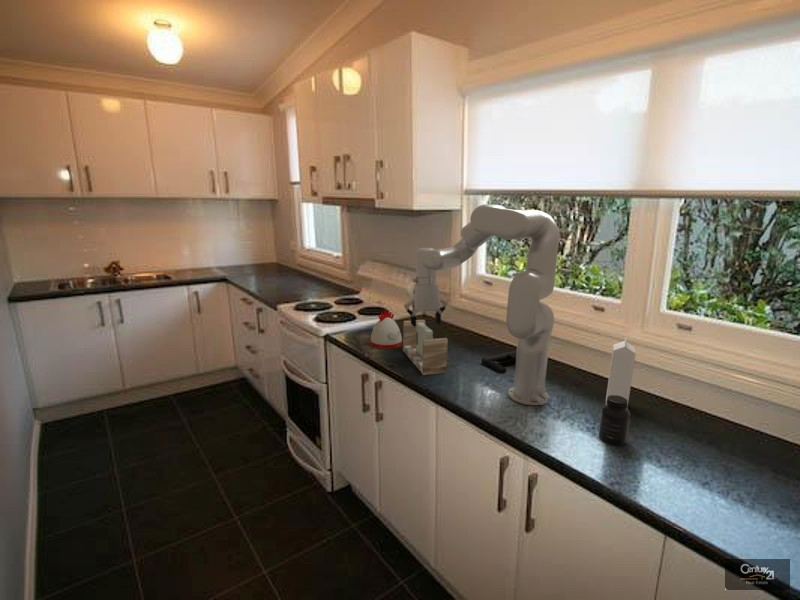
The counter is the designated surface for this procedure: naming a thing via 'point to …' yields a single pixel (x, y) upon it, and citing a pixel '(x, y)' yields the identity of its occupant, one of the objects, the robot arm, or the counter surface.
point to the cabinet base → (425, 350)
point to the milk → (621, 370)
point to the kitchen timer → (386, 332)
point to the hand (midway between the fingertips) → (425, 324)
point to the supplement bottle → (614, 421)
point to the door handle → (495, 359)
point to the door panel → (422, 337)
